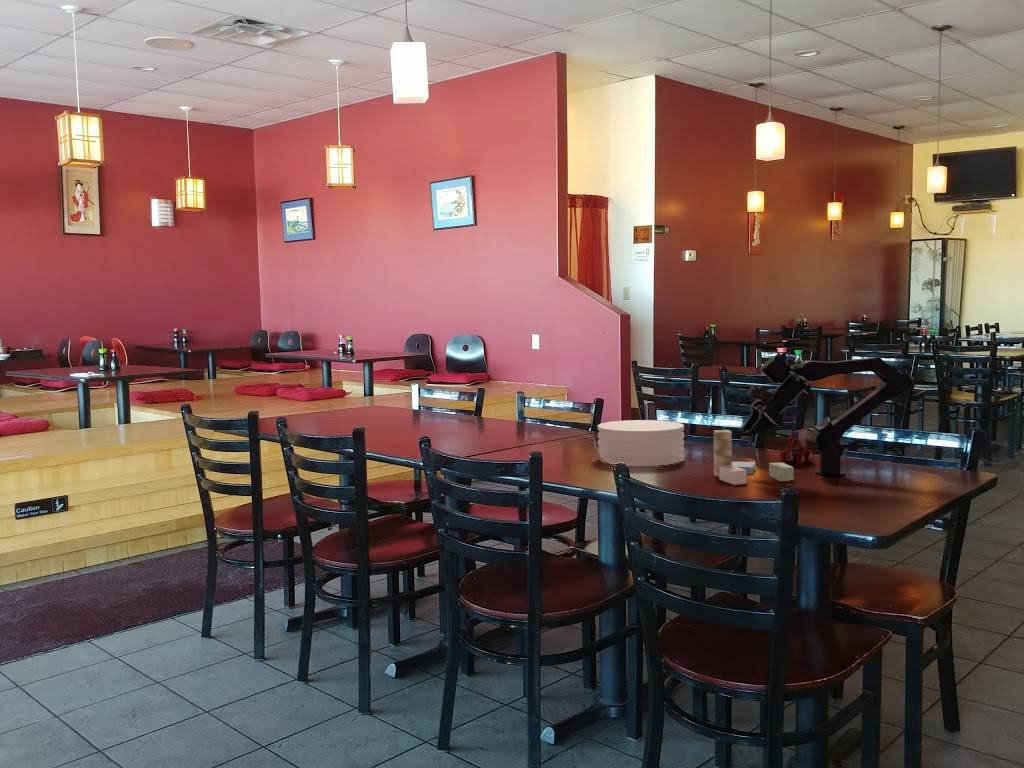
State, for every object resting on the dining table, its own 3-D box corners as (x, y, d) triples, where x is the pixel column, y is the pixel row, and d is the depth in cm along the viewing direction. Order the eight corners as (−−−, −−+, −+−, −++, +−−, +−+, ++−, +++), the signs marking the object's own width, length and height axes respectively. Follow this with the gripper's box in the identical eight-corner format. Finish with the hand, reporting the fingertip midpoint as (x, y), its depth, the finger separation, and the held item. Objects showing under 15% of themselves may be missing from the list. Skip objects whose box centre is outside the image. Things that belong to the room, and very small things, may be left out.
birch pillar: (729, 473, 262) (729, 430, 261) (731, 476, 258) (731, 432, 257) (713, 473, 262) (713, 430, 261) (715, 476, 258) (715, 432, 257)
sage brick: (793, 481, 249) (793, 467, 249) (779, 481, 249) (779, 467, 249) (782, 476, 257) (782, 462, 257) (769, 476, 257) (769, 463, 257)
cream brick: (746, 484, 247) (746, 470, 246) (733, 485, 246) (733, 471, 245) (732, 479, 254) (732, 465, 254) (719, 480, 253) (719, 466, 253)
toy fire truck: (776, 464, 276) (776, 431, 275) (795, 459, 285) (795, 427, 284) (797, 466, 271) (798, 433, 270) (815, 461, 280) (815, 428, 279)
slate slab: (754, 470, 269) (754, 462, 269) (752, 475, 260) (752, 467, 260) (724, 469, 272) (724, 461, 272) (721, 474, 263) (721, 466, 263)
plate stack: (614, 451, 309) (613, 418, 308) (693, 455, 297) (693, 421, 296) (585, 464, 284) (585, 429, 283) (671, 469, 272) (670, 432, 271)
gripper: (758, 372, 266) (721, 409, 268) (772, 377, 247) (731, 417, 249) (785, 398, 266) (747, 435, 268) (800, 405, 247) (760, 444, 249)
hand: (746, 432), depth 258 cm, fingers open, 9 cm apart
